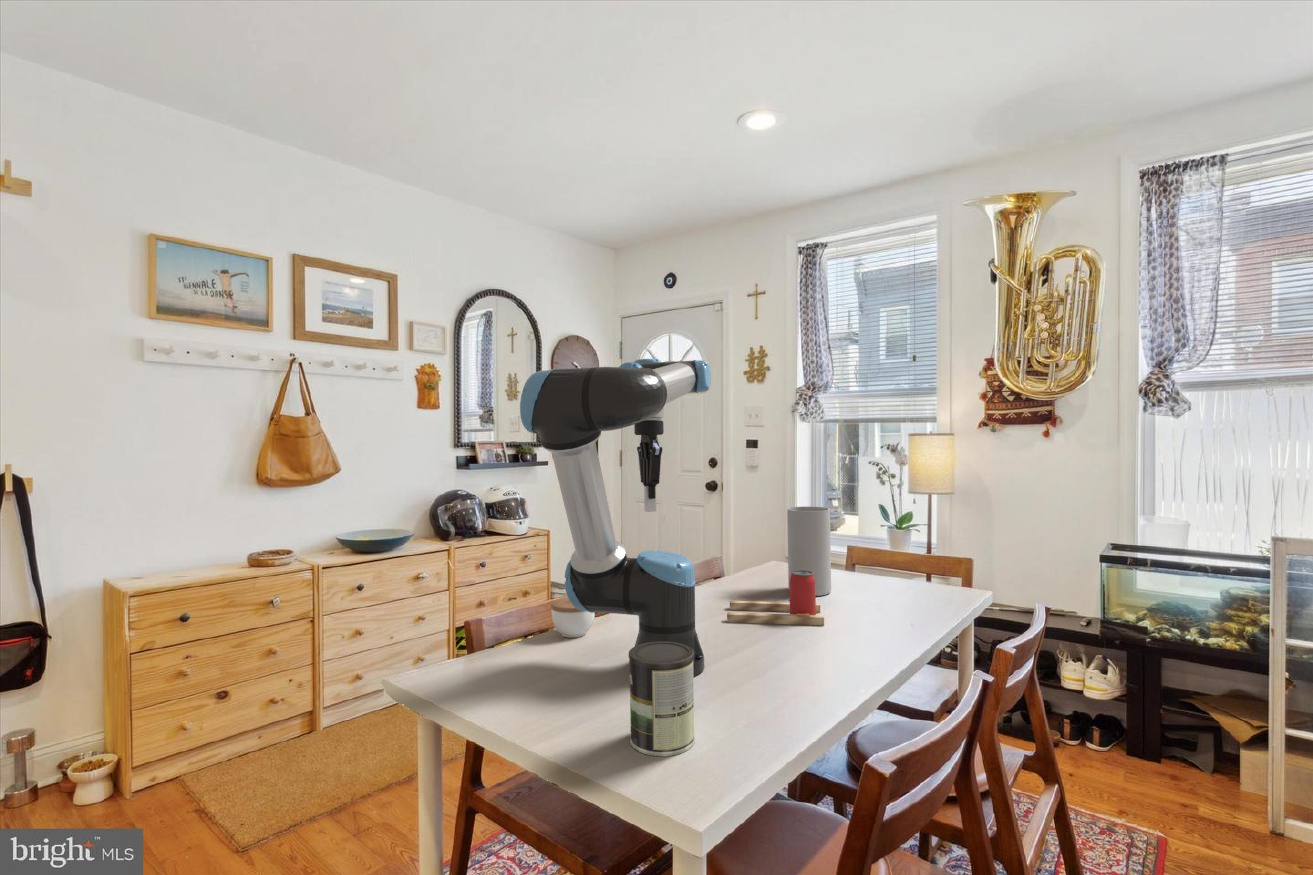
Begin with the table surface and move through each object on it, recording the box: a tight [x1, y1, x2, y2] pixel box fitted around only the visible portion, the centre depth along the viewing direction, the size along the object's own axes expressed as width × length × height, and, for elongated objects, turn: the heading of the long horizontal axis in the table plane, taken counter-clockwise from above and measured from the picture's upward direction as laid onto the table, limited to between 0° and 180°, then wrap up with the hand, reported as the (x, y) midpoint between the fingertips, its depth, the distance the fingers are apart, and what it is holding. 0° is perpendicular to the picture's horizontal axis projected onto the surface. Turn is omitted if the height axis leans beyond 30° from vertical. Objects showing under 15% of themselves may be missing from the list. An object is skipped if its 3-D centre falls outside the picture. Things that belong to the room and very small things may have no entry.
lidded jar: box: [550, 596, 596, 638], centre depth 155 cm, size 11×11×9 cm
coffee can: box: [628, 641, 696, 757], centre depth 100 cm, size 10×10×14 cm
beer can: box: [788, 570, 817, 615], centre depth 164 cm, size 7×7×12 cm
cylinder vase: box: [786, 506, 832, 597], centre depth 192 cm, size 12×12×25 cm
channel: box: [726, 600, 825, 627], centre depth 167 cm, size 24×14×2 cm, turn 80°
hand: (650, 511), depth 164 cm, fingers closed
